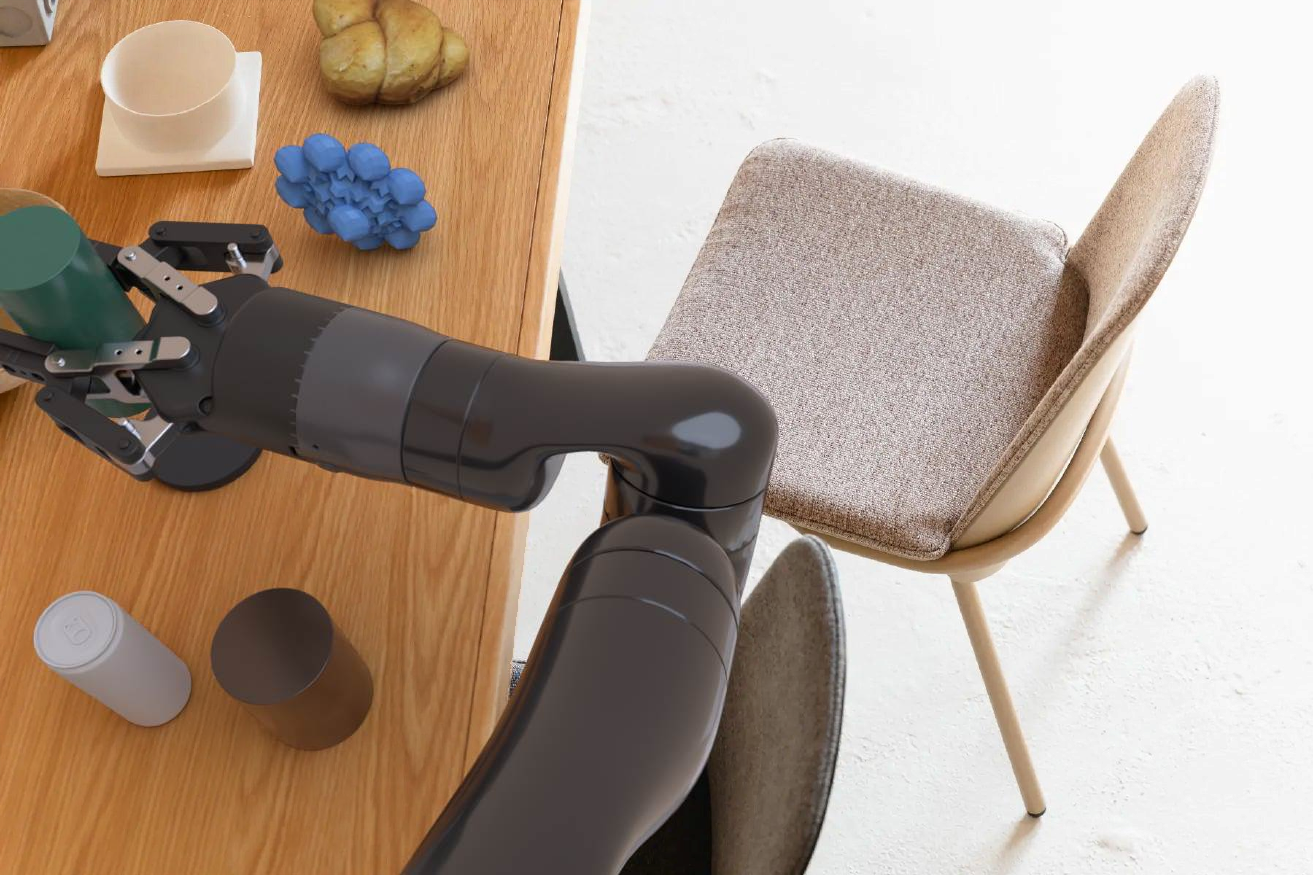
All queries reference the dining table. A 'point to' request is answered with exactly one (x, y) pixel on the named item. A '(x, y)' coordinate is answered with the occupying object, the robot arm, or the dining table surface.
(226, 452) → the mat
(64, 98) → the dining table surface
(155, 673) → the beverage can
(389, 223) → the grapes
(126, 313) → the tea tin
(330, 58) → the bread roll
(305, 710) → the stand
